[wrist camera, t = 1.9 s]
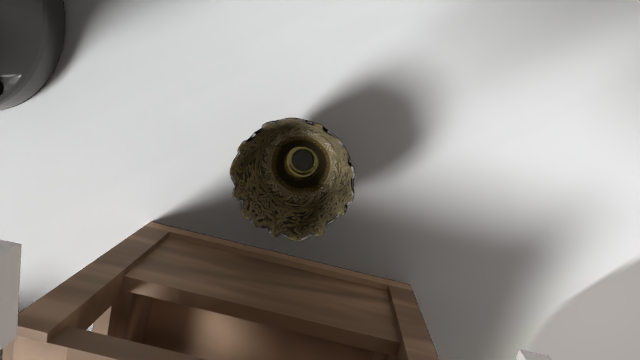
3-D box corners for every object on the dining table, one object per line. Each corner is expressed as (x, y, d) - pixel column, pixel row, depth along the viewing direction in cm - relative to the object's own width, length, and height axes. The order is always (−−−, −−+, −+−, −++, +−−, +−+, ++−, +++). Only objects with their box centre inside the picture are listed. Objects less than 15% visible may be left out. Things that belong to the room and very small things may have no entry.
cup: (296, 223, 33) (283, 264, 25) (236, 152, 32) (203, 172, 24) (369, 167, 32) (380, 192, 24) (310, 92, 31) (301, 91, 23)
